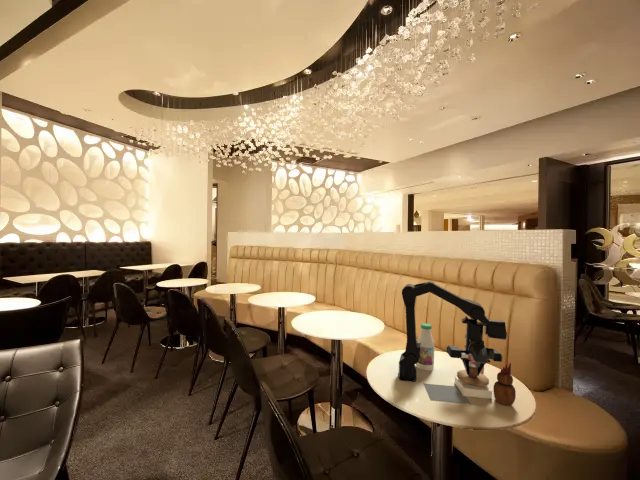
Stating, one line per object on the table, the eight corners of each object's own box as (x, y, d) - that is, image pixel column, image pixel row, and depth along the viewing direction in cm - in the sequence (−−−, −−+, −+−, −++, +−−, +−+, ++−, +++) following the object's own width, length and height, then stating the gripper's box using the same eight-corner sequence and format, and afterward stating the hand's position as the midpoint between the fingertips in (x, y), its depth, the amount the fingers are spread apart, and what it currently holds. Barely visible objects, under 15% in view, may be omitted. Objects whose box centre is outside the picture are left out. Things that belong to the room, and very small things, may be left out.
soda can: (486, 381, 122) (487, 352, 122) (467, 378, 124) (469, 351, 124) (480, 373, 129) (481, 346, 129) (463, 371, 131) (464, 344, 130)
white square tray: (463, 397, 109) (463, 388, 109) (454, 384, 119) (454, 375, 119) (491, 400, 108) (492, 391, 108) (480, 386, 118) (480, 377, 118)
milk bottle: (418, 362, 139) (420, 320, 138) (435, 367, 134) (437, 324, 134) (413, 368, 132) (415, 324, 132) (431, 373, 128) (432, 328, 127)
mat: (430, 401, 106) (430, 400, 106) (423, 384, 118) (423, 383, 118) (471, 405, 104) (471, 404, 104) (459, 388, 116) (459, 386, 116)
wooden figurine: (511, 400, 108) (512, 360, 108) (517, 409, 103) (519, 367, 102) (490, 397, 110) (492, 358, 109) (496, 406, 104) (498, 365, 104)
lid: (462, 384, 109) (463, 371, 108) (453, 371, 120) (453, 359, 119) (494, 387, 107) (494, 374, 107) (481, 373, 118) (482, 361, 118)
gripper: (456, 341, 106) (454, 383, 107) (511, 345, 104) (508, 388, 104) (446, 330, 117) (445, 369, 118) (496, 334, 115) (494, 373, 115)
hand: (472, 374), depth 113 cm, fingers closed on lid, 3 cm apart
